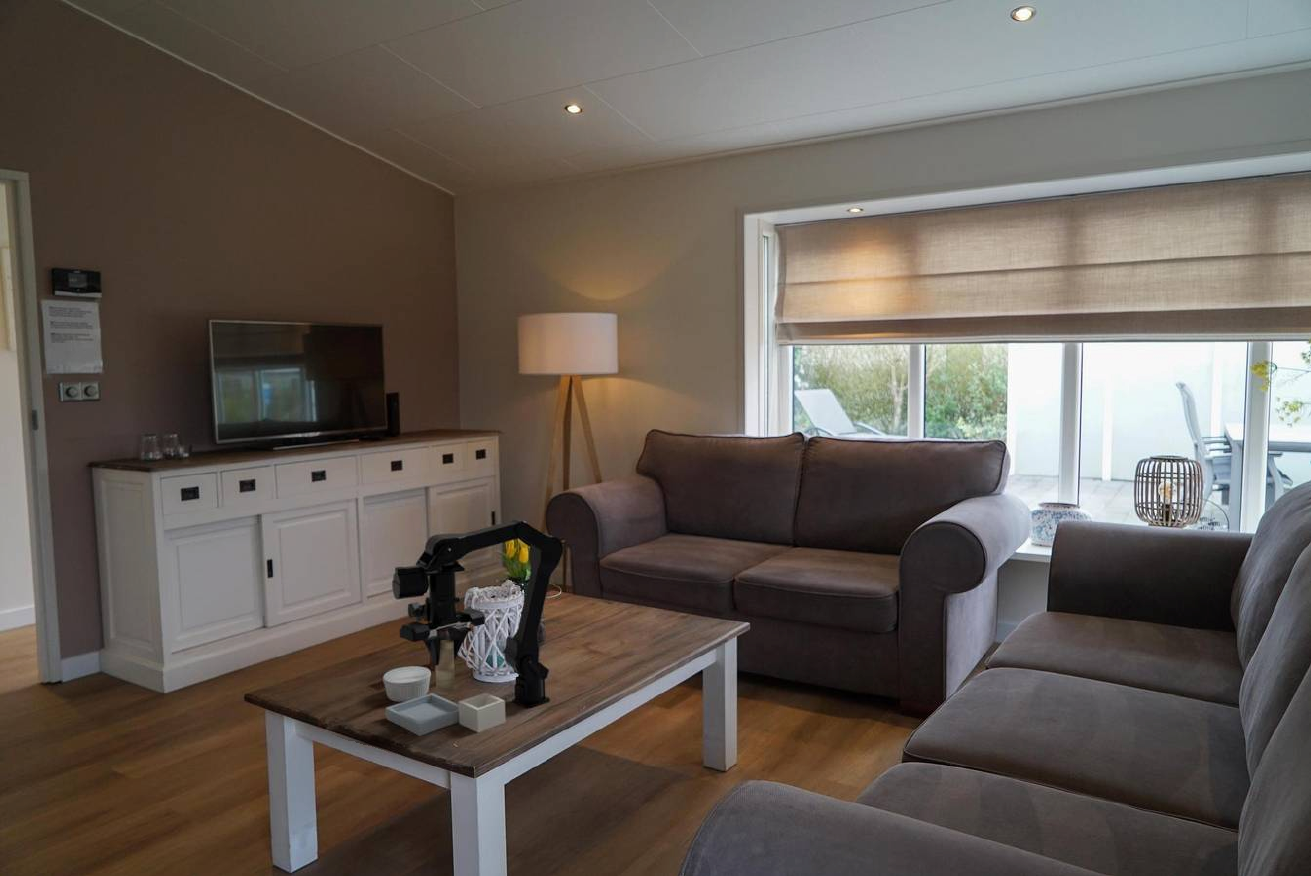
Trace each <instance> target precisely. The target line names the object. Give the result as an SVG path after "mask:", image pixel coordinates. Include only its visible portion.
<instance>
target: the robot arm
mask: <svg viewBox="0 0 1311 876" xmlns="http://www.w3.org/2000/svg"><path fill="white" fill-rule="evenodd" d="M517 539H518V540H519V541H520V542H522V543H523V544H525V545H526V546H528V547H529V551H528V559H529V565H530V574H529V579H528V583H527V587H526V591H525V596H524V601H523V604H522V610H521V613H520V614H521V615H520V620H519V623H518V627H517V630H516V632H515V633H514V635H513V636H512V637H511V636H507V637H506V640H505V647H504V650H502V654H503V655H504V661H505V663H506V664H507V666H509V667H510V668H511V669H512V671H513V673H514V674H517V676H515V684H514V686H513V687H514V698H512V699H511V700H512V702H513V703H515V704H517V705H520V706H522V707H525V708H527V709H530V708H533V707H536V706H538V705H542V704H544V703H546V702H549V701H551V698H550V697H548V696H546V679H547V678H548V674H549V672H550V670H549V668H547V667H546V666H545V665H544V664H542V663H541V662H540V660H539V659H540V645H539V643H540V642H539V638H538V635H539V634H538V633H539V630H540V625H541V622H542V621H541V620H542V615H543V611H544V607H545V602H546V598H547V594H548V589H549V585H550V580H551V577H552V575H553V573H554V571H555V570H556V568H557V567H558V566H559V564H560V561H561V559H562V556H563V554H564V551H565V550H564V549H565V546H564V544H563V542H562V540H561V539H559V537H556V536H552V535H550V534H548V533H544V532H542V531H540V530H538V529H536V528H535V527H533V526H531V525H530V524H529V523H528V522H527V521H525V520H521V519H519V518H514V519H512V520H510V521H507V522H503V523H499V524H496V525H495V524H494V525H491V526H488V527H485V528H484V527H483V528H480V529H477V530H473V531H469V532H465V533H464V532H463V533H440V534H434V535H431V536H430V537H429V538H428V540H427V541H426V543H425V546H424V550H423V552H422V554H421V555H420V557H419V558H418V559H417V561H416V563H415V565H411V566H397V567H395V568H394V573H393V578H392V581H391V584H392V585H391V586H392V587H391V588H392V592H393V597H394V598H395V600H404V599H411V598H418V597H424V595H425V594H427V593H428V591H429V593H428V596H427V597H425V600H424V601H425V603H424V604H420V603H419V602H418V601H415V602H410V603H408V604H407V613H408V614H407V616H408V618H410V619H414V618H415V619H416V620H415V621H412V622H407V623H403V624H402V625H401V626H400V629H399V638H401V639H404V640H406V641H409V642H412V643H417V642H421V641H423V643H424V645H425V647H426V648H427V650H428V653H429V657H430V656H431V658H432V661H433V663H434V665H436V666H437V665H438V663H439V657H440V644H441V637H439V636H437V630H440V629H444V628H447V630H448V632H449V635H450V640H451V641H453V642H454V661H455V660H456V659H457V656H458V654H459V651H460V650H461V647H462V645H463V643H464V641H465V640H466V638H467V636H468V634H469V633H470V632H472V630H473V628H472V627H469V624H468V623H470V624H471V625H472V626H473V627H479V626H483V625H485V624H486V615H485V613H484V612H483V610H478V609H475V608H473V607H472V608H471V607H469V608H466V609H465V608H464V609H461V610H458V611H457V603H460V602H461V601H460V600H461V599H460V597H459V596H457V585H456V584H457V583H456V582H457V581H456V579H457V578H456V573H460V572H465V571H466V568H465V567H464V566H462V565H461V564H460V562H459V560H461V559H463V558H464V557H466V556H467V555H468V554H470V553H473V552H474V551H475V552H476V551H479V550H482V549H485V548H489V547H492V546H496V545H499V544H503V543H507V542H511V541H515V540H517ZM422 620H423V621H424V622H427V623H423V622H420V621H422ZM428 621H430V623H428ZM437 625H439V626H437Z"/></svg>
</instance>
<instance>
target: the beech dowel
mask: <svg viewBox="0 0 1311 876" xmlns="http://www.w3.org/2000/svg"><path fill="white" fill-rule="evenodd" d="M455 683H456V682H455V660H454V642H453V641H451V640H441V644H440V657H439V663H438V665H437V666H436V669H435V693H436V695H439V696H440V695H443V696H446V695H451V694H453V693H455V691H456V690H455V689H456V686H455Z"/></svg>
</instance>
